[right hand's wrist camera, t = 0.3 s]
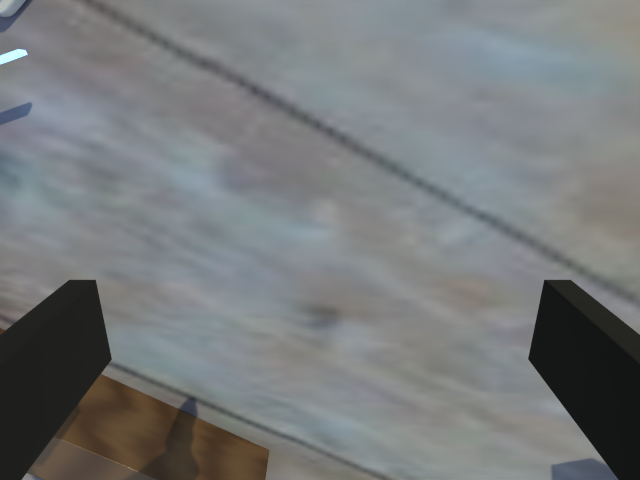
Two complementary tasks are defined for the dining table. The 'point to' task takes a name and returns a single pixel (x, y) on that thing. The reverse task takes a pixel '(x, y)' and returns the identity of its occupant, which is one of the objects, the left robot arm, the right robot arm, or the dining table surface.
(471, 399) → the dining table surface
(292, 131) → the dining table surface
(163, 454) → the post
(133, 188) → the dining table surface
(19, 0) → the left robot arm
